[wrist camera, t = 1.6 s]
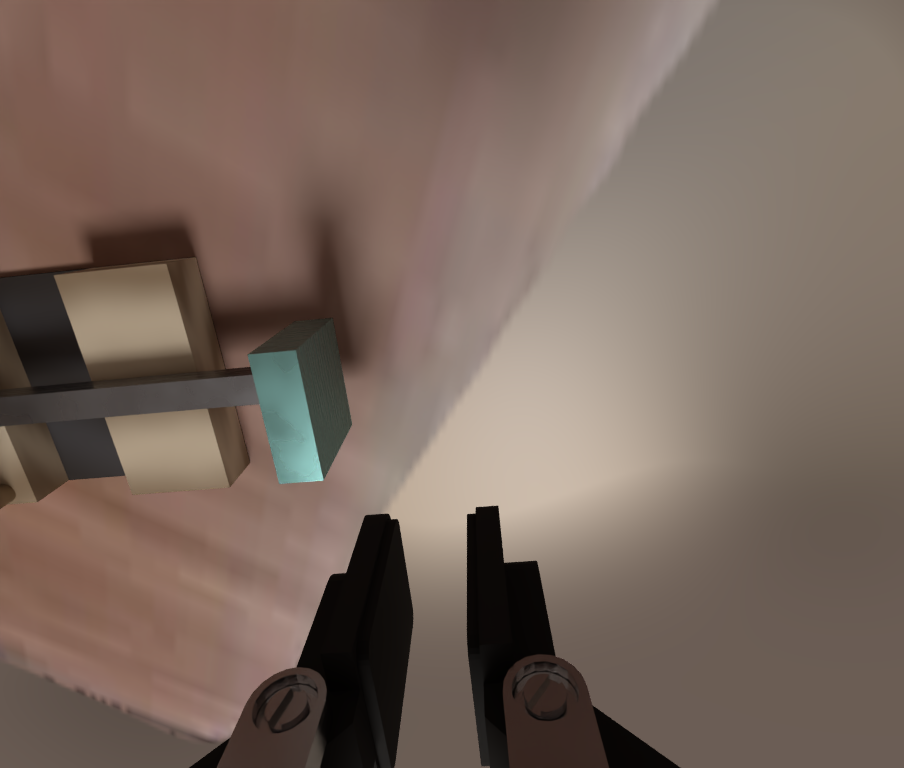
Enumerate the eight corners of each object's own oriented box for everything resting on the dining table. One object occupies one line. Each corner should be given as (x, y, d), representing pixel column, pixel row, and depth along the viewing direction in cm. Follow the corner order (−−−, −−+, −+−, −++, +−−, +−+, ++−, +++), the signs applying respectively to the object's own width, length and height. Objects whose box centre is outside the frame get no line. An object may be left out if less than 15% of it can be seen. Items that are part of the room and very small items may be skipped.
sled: (-239, 348, 28) (-419, 387, 22) (328, 292, 26) (289, 318, 20) (-160, 486, 31) (-301, 551, 25) (356, 445, 29) (328, 505, 23)
